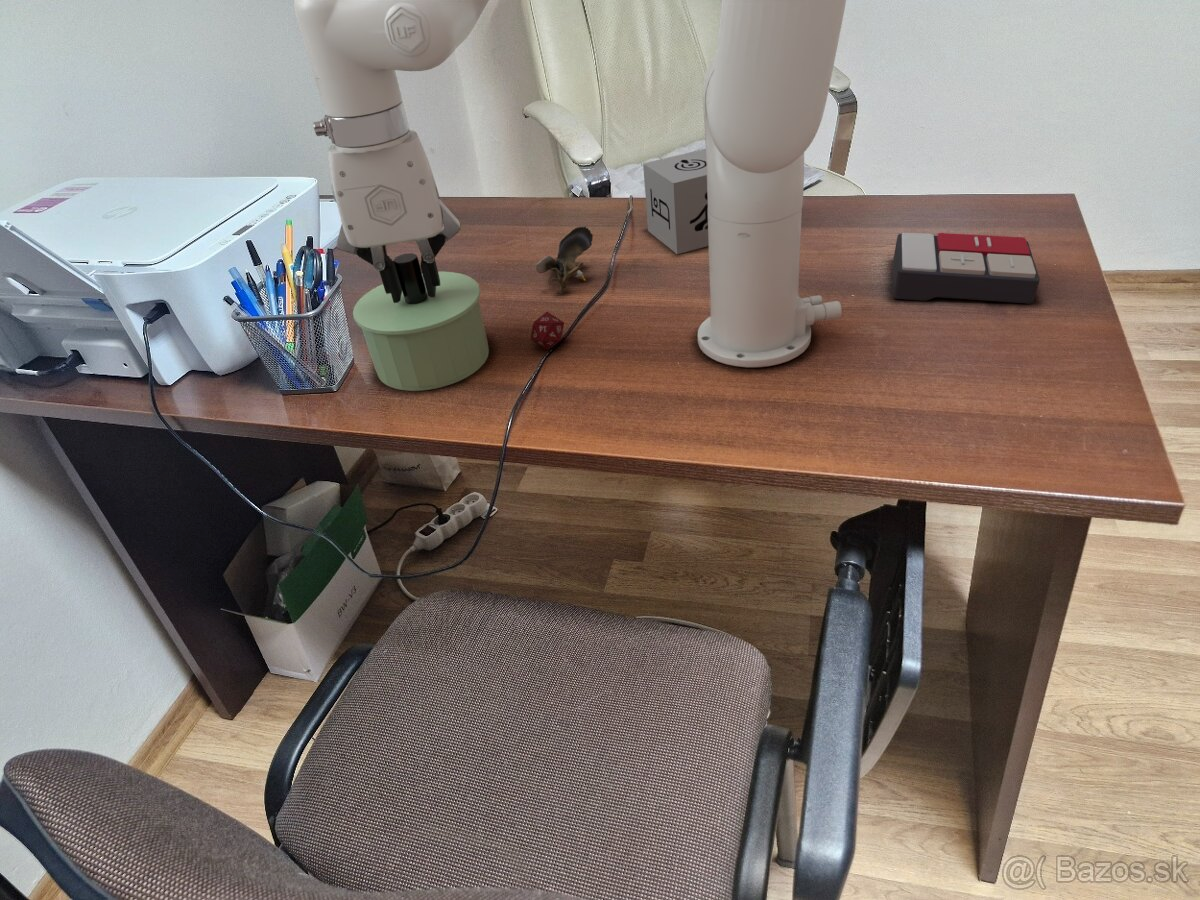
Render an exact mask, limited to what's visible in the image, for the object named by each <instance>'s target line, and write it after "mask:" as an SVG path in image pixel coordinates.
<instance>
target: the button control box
mask: <svg viewBox="0 0 1200 900" xmlns="http://www.w3.org/2000/svg"><path fill="white" fill-rule="evenodd" d="M892 267H893V268H892V272H893V273H892V297H893V298H894V299H896V300H907V301H921V302H922V301H923V302H927V301H930V300H932V299H934V298H946V299H960V300H971V301H973V300H974V301H985V302H986V301H989V302H1000V303H1001V302H1003V303H1015V304H1027V305H1029V304H1032V303H1033V304H1034V301H1035V297H1036V293H1037V290H1038V288H1039V285H1040V280H1041V279H1040V276H1039V272H1038V269H1037V266H1036V263H1035V260H1034V256H1033V253H1032V249H1031V246H1030V243H1029V241H1027V238H1026V237H1021V236H1008V235H1007V236H1005V235H985V234H970V233H969V234H968V233H951V232H950V233H949V232H938V233H937V235H936V234H935V235H934V233H922V232H921V233H919V232H902V233H898V234H897V237H896V242H895V247H894V253H893V258H892Z"/></svg>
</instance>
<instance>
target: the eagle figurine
mask: <svg viewBox="0 0 1200 900" xmlns="http://www.w3.org/2000/svg"><path fill="white" fill-rule="evenodd" d="M593 237H594V235H593V233H592V232H591V230H590V229H589V228H588V227H587V226H579V227H578V226H577V227H575V228H573V229H572V230H571V231H570V232H569V233H568V234H566V235H565V236H564V237H563V238H562V239H561V240H560V242H559V244H558V251H557V256H556V258H553V257H552V256H550V255H547V256H545V257H543V258H542V259H541V260H539V261H537V263H536V264H535V271H537V273H538V274H545V273H547V272H548V271H553V272H554V273H555V275H556V277H552V278H550V280H549V281H551V282H558V285H559V294H560V295H562V294H563V292H564V290H565V289H566V288H567V285H568V283H569V281H570V278H571V277H575V278H577V279H579V280H580V279H581V280H582V281H584V282H586V278H585V276H584V272H582V271H581V269H582V267H583V265H584V262H583V261H581V262H579V263H575V262H576V260H577V258H579V257H580V256H582V255H583V253H584V252H586V251H587V250H589V249H590V248H591V247H592V245H593V243H592V242H593Z"/></svg>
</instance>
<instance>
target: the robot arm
mask: <svg viewBox="0 0 1200 900" xmlns="http://www.w3.org/2000/svg"><path fill="white" fill-rule="evenodd" d="M489 1H490V0H293V10H294V14H295V19H296V22H297V25H298V28H299V32H300V36H301V39H302V42H303V45H304V49H305V52H306V56H307V58H308V62H309V65H310V69H311V72H312V76H313V78H314V82H315V84H316V85H315V86H316V88H317V92H318V94H319V95H318V96H319V99H320V102H321V105H322V108H323V112H324V114H325V115H324V117H323V118H321V119H320V120H319V121H313V125H312V126H313V130H314V133H315V135H316V137H321V136H324V137H328V138H329V140H330V141H331V144H332V145H331V146H330V147H328V149H327V158H328V166H329V173H330V178H331V179H330V180H331V185H332V184H333V189H334V193H335V198H336V202H337V203H336V202H335V203H336V206H337V209H338V214H339V218H340V222H341V225H340V229H339V231H338V232H339V233H338V237H337V240H336V244H335V245H336V249H338V250H340V251H341V252H345V253H347V254H350V255H355V256H357V257H359V258H360V259H362V260H364V261H365V262H366V263H369V264H370V265H371V266H373V268H374V269H375V270H376V271H378V272H379V276H380V278H381V281H382V284H383V285H384V289H385V292H386V294H389V293H391V296H392V299H393V302H394V303H399V301H400V300H401V294H402V288H401V285H400V281H399V278H398V274H397V271H396V267H395V264H394V260H393V259H392V258H391V257H390V256H389V255H388V251H387V246H389V245H396V244H400V243H401V244H402V243H407V242H416V244H417V247H418V249H419V252H420V254H421V255H420V268H421V272H422V274H423V278H424V282H425V286H426V290H427V293H428V297H429V296H430V298H431V297H435V293H436V286H440V278H439V274H438V272H439V270H438V266H437V262H436V257H437V256H438V254H439V253H440V251H441V250H442V248H443V247H444V246H445V244H446V243H447V242H448V241H450V240H451V239H452V238H453V237H454V236H456V235H458V233H460V232H461V227H462V225H461V222H460V220H459V219H458V218H457V217H456V215H455V214H453V212H452V211H451V210H450V209H449V208H448V206H446V205H445V204H444V202H443V201H442V200H441V197H440V194H439V191H438V187H437V184H436V180H435V177H434V174H433V170H432V167H431V165H430V162H429V158H428V156H427V153H426V151H425V148H424V146H423V144H422V140H421V139H420V137H419V135H418V133H417V132H416V130H411V129H410V126H409V122H408V118H407V114H406V110H405V106H404V102H403V98H402V93H401V89H400V84H399V81H398V77H397V73H396V71H402V72H422V71H423V72H424V71H429V70H432V69H435V68H438V67H439V66H440V65H443V63H445V61H447V60H448V58H449V57H450V56H451V55H452V54H453V53H454V52H455V51H456V50H457V48H459V46H460V45H461V44H462V43H463V42H465V40H467V38H468V37H469V35H470V34H471V33H472V31H473V29H474V28H475V26H476V24H477V23H478V21H479V19H480V17H481V15H482V14H483V12H484V10H485V8H486V6H487V5H488V3H489ZM846 3H847V0H721V5H720V13H719V14H720V15H719V23H718V24H719V25H718V35H717V44H716V51H715V52H714V54H713V56H712V57H711V58H710V61H709V63H708V66H707V68H706V71H705V74H704V79H703V83H702V87H703V88H702V110H703V124H704V141H705V144H704V145H705V149H706V165H707V197H708V244H709V246H708V274H709V275H708V277H709V309H710V310H709V311H710V312H709V313H710V316H708V317H707V318H706V319H705V320H704V321H702V323H701V324H700V326H699V327H698V329H697V344H698V347H699V350H701V351H702V353H703V354H705V355H706V356H707V357H708V358H710V359H712V360H714V361H716V362H718V363H721V364H724V365H727V366H732V367H740V368H765V367H771V366H777V365H780V364H783V363H787V362H789V361H791V360H794V359H795V358H798V357H799V356H800V355H802V354H803V353H804V352H805V351H806V350H807V349H808V347H809V346H810V343H811V340H812V339H811V338H812V328H811V326H814V324H815V322H820V321H830V320H835V319H841V318H842V313H843V311H842V304H841V302H840V301H839V300H834V301H827V302H823V297H822V295H821V294H818V295H812V296H811V295H810V296H808V297H802V298H801V296H799V285H800V284H799V283H800V263H801V244H802V243H801V242H802V241H801V240H802V220H803V218H802V217H803V206H804V188H805V186H804V185H805V152H806V151H807V150H808V149H809V148H810V146H811V144H812V142H813V141H814V139H815V138H816V135H817V134H818V131H819V129H820V126H821V123H822V119H823V117H824V113H825V108H826V104H827V100H828V95H829V90H830V85H831V81H832V76H833V70H834V66H835V61H836V56H837V51H838V45H839V40H840V35H841V29H842V26H843V20H844V15H845V9H846Z"/></svg>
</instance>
